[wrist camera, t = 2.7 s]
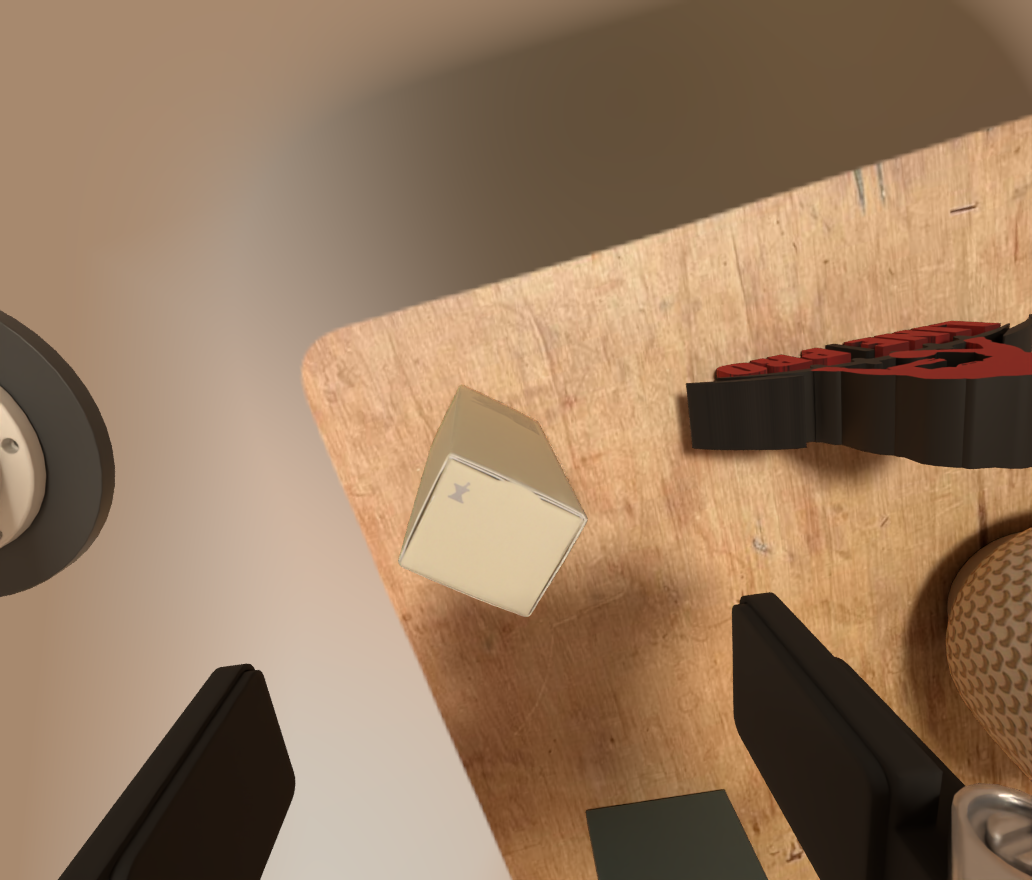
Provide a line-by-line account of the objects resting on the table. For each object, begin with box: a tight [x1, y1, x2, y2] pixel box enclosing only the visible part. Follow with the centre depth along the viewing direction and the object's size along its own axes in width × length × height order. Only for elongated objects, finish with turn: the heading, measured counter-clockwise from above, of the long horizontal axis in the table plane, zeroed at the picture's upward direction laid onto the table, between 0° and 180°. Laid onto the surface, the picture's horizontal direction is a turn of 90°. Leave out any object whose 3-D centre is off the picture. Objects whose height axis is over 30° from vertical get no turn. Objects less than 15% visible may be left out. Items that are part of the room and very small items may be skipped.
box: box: [398, 385, 588, 617], centre depth 23 cm, size 5×4×13 cm
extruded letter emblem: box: [686, 314, 1032, 469], centre depth 24 cm, size 18×4×11 cm, turn 101°
